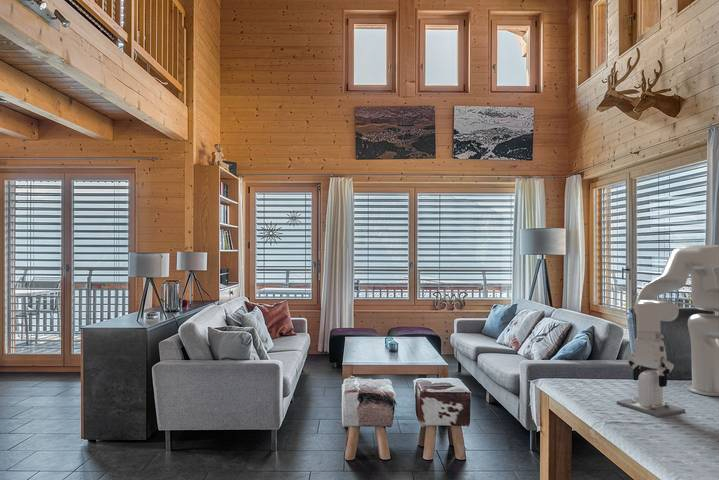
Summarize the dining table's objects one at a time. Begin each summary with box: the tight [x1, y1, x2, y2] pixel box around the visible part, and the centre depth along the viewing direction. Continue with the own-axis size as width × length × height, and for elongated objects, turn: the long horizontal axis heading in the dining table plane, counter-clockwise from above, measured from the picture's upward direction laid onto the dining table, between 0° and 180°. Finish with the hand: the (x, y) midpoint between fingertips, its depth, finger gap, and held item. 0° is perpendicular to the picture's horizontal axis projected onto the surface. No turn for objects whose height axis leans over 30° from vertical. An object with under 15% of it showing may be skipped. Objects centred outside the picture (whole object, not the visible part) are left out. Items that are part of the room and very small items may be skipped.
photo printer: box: [637, 369, 664, 407], centre depth 171 cm, size 10×4×12 cm, turn 120°
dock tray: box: [616, 397, 686, 418], centre depth 171 cm, size 14×16×2 cm
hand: (649, 383), depth 172 cm, fingers open, 9 cm apart
